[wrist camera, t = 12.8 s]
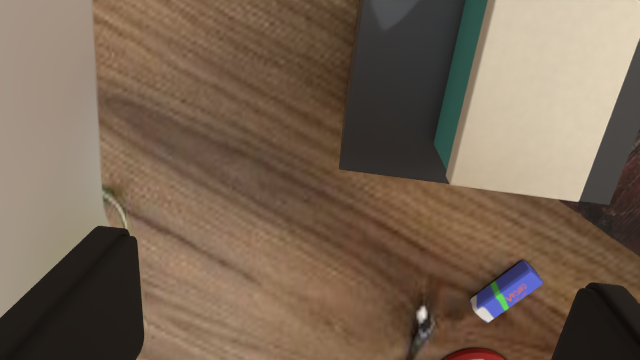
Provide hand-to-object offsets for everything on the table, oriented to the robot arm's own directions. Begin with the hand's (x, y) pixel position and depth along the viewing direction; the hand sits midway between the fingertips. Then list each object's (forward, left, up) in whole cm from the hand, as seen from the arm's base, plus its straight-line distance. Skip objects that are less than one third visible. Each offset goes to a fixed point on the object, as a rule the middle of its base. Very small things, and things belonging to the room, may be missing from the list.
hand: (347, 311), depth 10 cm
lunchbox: (+7, +4, -14) cm, 16 cm away
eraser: (+16, -16, -28) cm, 36 cm away
